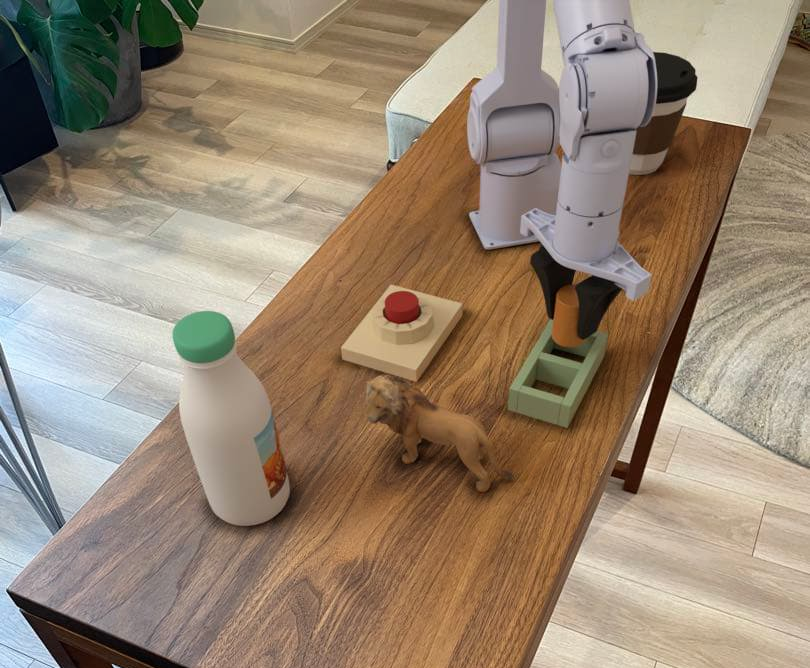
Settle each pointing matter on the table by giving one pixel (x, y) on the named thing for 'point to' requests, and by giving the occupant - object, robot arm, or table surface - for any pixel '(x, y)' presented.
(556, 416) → the pod holder
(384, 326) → the box
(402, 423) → the lion figurine
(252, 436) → the milk bottle
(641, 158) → the coffee cup
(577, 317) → the cylinder
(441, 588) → the table surface
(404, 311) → the button
